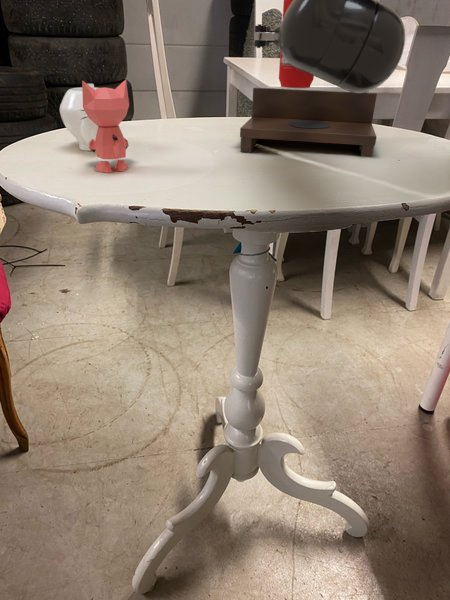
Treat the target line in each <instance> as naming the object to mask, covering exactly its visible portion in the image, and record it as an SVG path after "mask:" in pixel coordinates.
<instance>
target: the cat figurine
mask: <svg viewBox="0 0 450 600" xmlns="http://www.w3.org/2000/svg"><path fill="white" fill-rule="evenodd" d="M127 82H128V81H127V79H125V80H123V81H122V82H121V83H120V84H119V85H118V86H117V87H116V88H111V87H105V86H103V87H97V88H98V89H96V90H94V89H93V88H92V87H90V86H89V85H88V84H89V83H88V82H86V81H84V80H82V81H81V85H82V86H81V87H82V93H83V109H84V110H81V111H85V112H86V114H87V117H88V118H89V119H90V120H92V121H93V122H94V123H95V124H96V125H97V126H99V127H98V130H97V134H96V139H95V141H94V139H92V140H91V141H90V142H89V149H90V150H92V151H91V152H92V153H94V154H96V157H97V158H99V159H101V161H99V162H97V163H96V165H95V167H94V171H95V172H100V173H113V169H112V166H111V164H110V162H109V161H108V160H117V161H116V164H115V166H114V170H115V171H117V172H124V171H127V170H128V169H129V165H128V163H127V162H126V161H125V160H122V158H123V159H124V158H127V155H126V154H127V152H126V150H127V149H128V148H129V146H130V145H129V141H128V139H126V138H125V137H124V134H123V132H122V129H121V128H120V124H121V123H122V122H123V120H124V119H125V118H127V114H128V112H129V108H130V99H129V98H130V97H129V90H128V83H127ZM87 117H84V118H87ZM84 118H82V119H84ZM80 120H81V119H80Z"/></svg>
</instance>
